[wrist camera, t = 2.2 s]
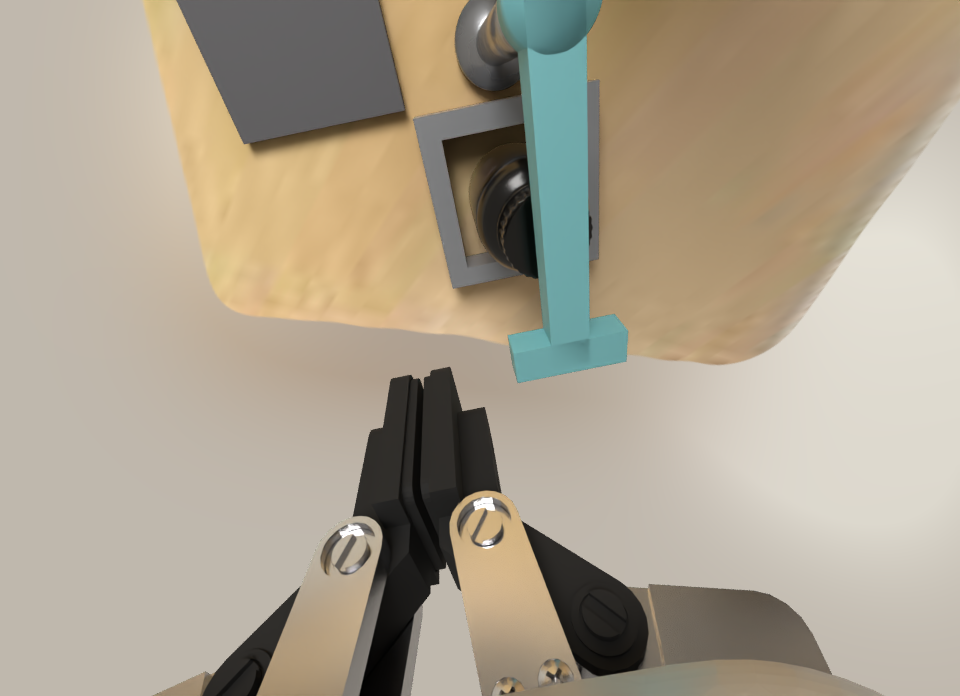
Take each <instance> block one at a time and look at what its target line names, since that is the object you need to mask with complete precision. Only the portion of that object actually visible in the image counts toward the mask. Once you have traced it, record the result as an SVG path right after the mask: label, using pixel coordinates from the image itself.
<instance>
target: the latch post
mask: <svg viewBox="0 0 960 696" xmlns="http://www.w3.org/2000/svg"><path fill="white" fill-rule="evenodd" d="M455 52H456V57H457V60H458V63H459V66H460V68H461V70H462V71H463V73H464V75H465V76H466V77H467V79H468V80H469V81H470V82H471V83H473V84H474V85H475V86H477V87H479V88H481V89H484V90H488V91H498V90H503V89H506V88H508V87H510V86H512V85H514V84H515V83H516V82H517V81H518V80H519V79H520V71H519V61H518V52H517V51H516V50H514V49H513V48H512V47H511V45H510V44H509V43H508V41H507V40H506V38H505V36H504V35H503V32H502V30H501V27H500V24H499V20H498V15H497V0H469V2H468V3H467V4H466V6H465V7H464V9H463V10H462V12H461V15H460V17H459V20H458V23H457V26H456V31H455Z"/></svg>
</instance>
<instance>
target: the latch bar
mask: <svg viewBox="0 0 960 696" xmlns="http://www.w3.org/2000/svg"><path fill="white" fill-rule="evenodd" d="M601 4H602V0H497V15H498V20H499V24H500V27H501V30H502V32H503V35H504V36H505V38H506V40H507V41H508V43H509V44H510V45H511V47H512V48H513V49H514V50H516V51H517V52H518V61H519V71H520V82H521V93H522V104H523V115H524V126H525V136H526V147H527V158H528V169H529V180H530V191H531V201H532V212H533V223H534V234H535V245H536V256H537V266H538V277H539V288H540V299H541V310H542V320H543V328H542V329H537V330H532V331H527V332H522V333H517V334H512V335H508V340H509V346H510V353H511V359H512V365H513V368H514V372H515V375H516V379H517V382H518V383H521V382H526V381H531V380H536V379H541V378H546V377H550V376H556V375H561V374H566V373H571V372H576V371H581V370H586V369H591V368H596V367H601V366H606V365H611V364H616V363H621V362H626V359H627V342H628V330H627V329H626V327H625V326H624V325H623V324H622V323H621V321H620V320H619V319H618V318H617V316H616V315H615V314H612V315H607V316H602V317H597V318H592V319H590V315H589V220H588V126H587V33H588V32H589V31H590V29H591V28H592V26H593V24H594V22H595V20H596V18H597V16H598V13H599V11H600V8H601Z"/></svg>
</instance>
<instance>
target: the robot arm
mask: <svg viewBox="0 0 960 696" xmlns="http://www.w3.org/2000/svg"><path fill="white" fill-rule="evenodd" d="M446 562H447V565H448V567H449V569H450V571H451V574H452V576H453V578H454V581H455V583H456V585H457V587H458V589H459V590H460V591H461V592H462V597H463V601H464V607H465V612H466V617H467V621H468V627H469V632H470V637H471V642H472V647H473V652H474V657H475V662H476V667H477V672H478V677H479V682H480V687H481V692H482V696H884V695H882V694H880V693H878V692H876V691H874V690H871V689H869V688H866V687H864V686H861V685H859V684H856V683H854V682H851V681H849V680H847V679H844V678H841V677H837V676H834V675H832V673H831V671H830V669H829V667H828V665H827V663H826V661H825V659H824V657H823V655H822V653H821V650H820V649H819V646H818V644H817V642H816V640H815V638H814V636H813V634H812V632H811V631H810V630H809V628H808V626H807V625H806V623H805V622H804V621H803V619H802V617H800V616H799V615H798V614H797V613H796V612H795V611H794V610H793V609H792V608H791V607H790V606H788V605H787V604H786V603H784V602H783V601H781V600H779V599H777V598H775V597H773V596H771V595H770V594H766V593H761V592H757V591H750V590H749V591H748V590H734V589H718V588H702V587H701V588H700V587H686V586H670V585H654V584H649V586H648V588H634V587H626V586H625V585H624V584H623V583H621V582H620V581H618V580H617V579H615V578H613V577H612V576H610V575H609V574H607V573H605V572H604V571H602V570H600V569H599V568H597V567H596V566H594V565H592V564H591V563H589V562H587V561H586V560H584V559H583V558H581V557H579V556H578V555H576V554H575V553H573V552H571V551H570V550H568V549H566V548H565V547H563V546H562V545H560V544H558V543H556V542H555V541H553V540H552V539H550V538H549V537H546V536H545V535H544V534H542V533H540V532H539V531H537V530H535V529H534V528H532V527H530V526H529V525H527V524H526V523H524V522H523V521H521V519H520V516H519V514H518V511H517V509H516V507H515V506H514V504H513V502H512V501H511V500H510V499H509V498H508V497H506V496H505V495H503V494H501V488H500V482H499V477H498V471H497V465H496V459H495V454H494V448H493V443H492V438H491V433H490V428H489V423H488V419H487V415H486V410H485V407H483V408H477V409H473V410H467V411H462V408H461V404H460V400H459V397H458V393H457V390H456V386H455V382H454V378H453V375H452V371H451V368H450V367H447V368H442V369H437V370H432V371H431V373H430V376H428V377H425V378H424V389H423V386H422V383H421V381H420V379H419V378H418V379H413V377H412V376H411V375H407V376H403V377H398V378H393V379H391V381H390V387H389V393H388V400H387V406H386V412H385V419H384V425H383V428H378V429H374V430H371V432H370V434H369V437H368V443H367V448H366V453H365V458H364V463H363V468H362V473H361V478H360V483H359V488H358V494H357V498H356V504H355V509H354V514H353V517H351V518H348V519H346V520H344V521H341V522H339V523H338V524H337V525H335V526H334V527H333V528H331V529H330V530H329V531H328V532H327V533H326V535H325V536H324V537H323V538H322V539H321V541H320V543H319V545H318V546H317V548H316V550H315V552H314V555H313V558H312V560H311V563H310V565H309V568H308V570H307V572H306V575H305V577H304V580H303V582H302V585H301V586H300V588H298V589H297V590H296V591H295V592H294V593H293V594H292V595H291V596H290V597H289V598H288V599H287V600H286V601H285V602H284V603H283V604H282V605H281V606H280V607H279V608H278V609H277V610H276V611H275V612H274V613H273V614H272V615H271V616H270V617H269V618H268V619H267V620H266V621H265V622H264V623H263V624H262V625H261V626H260V627H259V628H258V629H257V630H256V631H255V632H254V633H253V634H252V635H251V636H250V637H249V638H248V639H247V640H246V641H245V642H244V643H243V644H242V645H241V646H240V647H239V648H238V649H237V650H236V651H235V652H234V653H233V654H232V655H231V656H230V657H229V658H227V659H226V661H225V662H224V663H223V664H222V665H221V667H220V668H219V669H218V670H217V671H216V672H215V673H213V674H211V675H210V674H209V673H207V672H203V673H201V674H199V675H197V676H195V677H192V678H190V679H188V680H186V681H184V682H181V683H179V684H177V685H175V686H173V687H171V688H168V689H166V690H164V691H162V692H160V693H157V694H155V695H153V696H410V695H411V689H412V682H413V676H414V669H415V662H416V656H417V649H418V642H419V635H420V629H421V622H422V608H423V606H422V604H423V603H424V601H425V600H426V599H427V597H428V596H429V595H430V586H431V585H436V584H439V570H440V569H445V568H446Z"/></svg>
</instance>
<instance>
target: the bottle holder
mask: <svg viewBox="0 0 960 696" xmlns="http://www.w3.org/2000/svg"><path fill="white" fill-rule="evenodd" d="M413 121H414V125H415V130H416V134H417V138H418V142H419V147H420V151H421V155H422V159H423V164H424V168H425V172H426V176H427V181H428V185H429V189H430V193H431V198H432V202H433V206H434V210H435V215H436V219H437V223H438V227H439V232H440V236H441V240H442V244H443V249H444V253H445V257H446V261H447V266H448V270H449V274H450V278H451V283H452V287H453V289H454V288H459V287H464V286H469V285H474V284H479V283H484V282H489V281H494V280H499V279H503V278H508V277H513V276H518V275H523V274H522V273H519V272H518V271H515V270H512V269H509V268H507V267H504V266H503V265H501V264H499V263H498V262H497V261H496V260H494V259H493V258H492V257H491V256H490V255H489V253H488V252H486V253H481V254H476V255H471V256H466V257H465V252H464V247H463V242H462V237H461V233H460V228H459V223H458V218H457V213H456V208H455V203H454V198H453V193H452V188H451V183H450V179H449V174H448V169H447V164H446V159H445V154H444V149H443V144H442V140H446V139H451V138H456V137H460V136H465V135H470V134H475V133H480V132H484V131H489V130H494V129H499V128H503V127H508V126H513V125H518V124H523V123H524V115H523V104H522V95H517V96H512V97H507V98H502V99H498V100H493V101H488V102H483V103H479V104H474V105H469V106H464V107H460V108H455V109H450V110H445V111H441V112H436V113H431V114H426V115H422V116H417V117H414V118H413ZM587 126H588V197H589V206H590V210H589V212H590V213H589V215H590V216H591V217H592V223H591V224H592V226H593V229H592V238H591V240H590V246H589V261H592V260H597V259H599V80H590V81H587Z"/></svg>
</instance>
